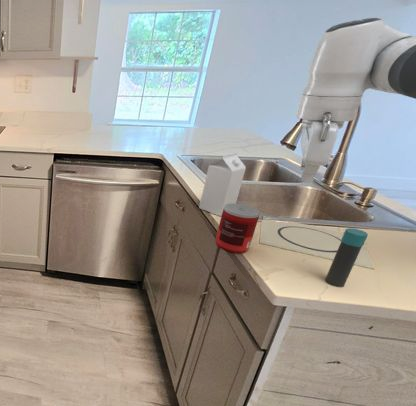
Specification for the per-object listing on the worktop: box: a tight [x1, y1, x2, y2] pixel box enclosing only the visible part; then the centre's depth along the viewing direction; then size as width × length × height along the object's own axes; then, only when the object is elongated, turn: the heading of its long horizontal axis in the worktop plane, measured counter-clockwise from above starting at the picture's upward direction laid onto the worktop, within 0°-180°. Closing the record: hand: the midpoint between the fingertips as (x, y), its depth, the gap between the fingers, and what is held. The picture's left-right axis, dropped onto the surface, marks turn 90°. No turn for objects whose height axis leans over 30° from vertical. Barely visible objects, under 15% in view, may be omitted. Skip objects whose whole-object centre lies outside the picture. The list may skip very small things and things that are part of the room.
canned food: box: [214, 202, 261, 254], centre depth 95 cm, size 8×8×11 cm
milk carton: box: [198, 151, 247, 217], centre depth 114 cm, size 7×7×19 cm
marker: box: [324, 227, 369, 288], centre depth 79 cm, size 3×3×13 cm
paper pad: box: [259, 217, 376, 270], centre depth 99 cm, size 22×20×1 cm
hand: (305, 175), depth 78 cm, fingers open, 8 cm apart
